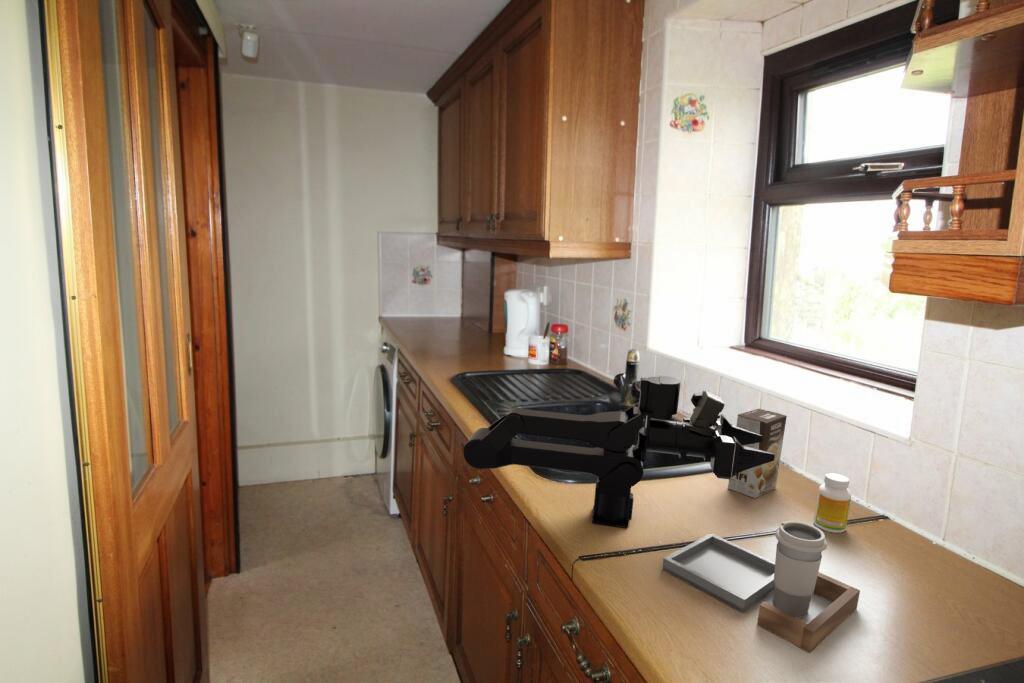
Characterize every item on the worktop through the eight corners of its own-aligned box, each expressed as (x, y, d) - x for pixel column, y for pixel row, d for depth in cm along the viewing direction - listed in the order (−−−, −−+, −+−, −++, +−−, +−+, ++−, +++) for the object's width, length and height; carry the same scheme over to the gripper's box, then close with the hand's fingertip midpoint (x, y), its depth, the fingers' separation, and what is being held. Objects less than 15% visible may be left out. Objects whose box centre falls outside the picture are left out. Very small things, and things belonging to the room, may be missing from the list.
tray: (662, 569, 99) (663, 558, 99) (709, 543, 108) (710, 533, 107) (742, 612, 89) (744, 599, 89) (787, 580, 98) (789, 568, 98)
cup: (774, 587, 96) (785, 514, 93) (821, 606, 92) (834, 530, 89) (758, 608, 90) (769, 531, 88) (807, 629, 86) (820, 548, 84)
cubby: (757, 624, 87) (759, 604, 86) (806, 586, 97) (809, 568, 96) (809, 652, 81) (813, 632, 81) (856, 609, 91) (860, 590, 91)
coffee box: (756, 499, 127) (766, 423, 124) (726, 488, 131) (736, 414, 128) (776, 488, 133) (787, 415, 130) (748, 478, 137) (757, 407, 134)
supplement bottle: (849, 535, 114) (858, 485, 112) (817, 531, 115) (825, 481, 113) (840, 522, 119) (848, 473, 117) (810, 517, 120) (817, 469, 118)
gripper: (684, 408, 100) (788, 419, 97) (675, 380, 118) (762, 388, 116) (677, 474, 102) (778, 486, 100) (668, 436, 120) (754, 446, 118)
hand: (768, 447), depth 108 cm, fingers open, 9 cm apart
